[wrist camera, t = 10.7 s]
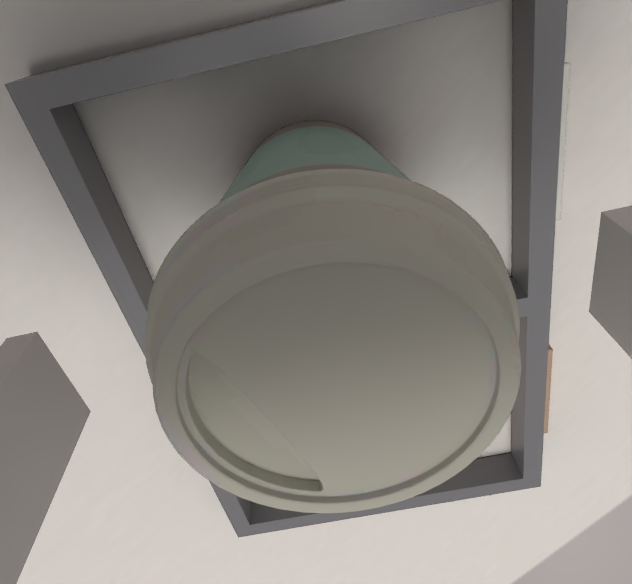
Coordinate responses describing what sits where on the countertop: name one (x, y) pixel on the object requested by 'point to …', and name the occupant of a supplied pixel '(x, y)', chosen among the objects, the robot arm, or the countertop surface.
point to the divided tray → (296, 33)
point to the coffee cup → (331, 331)
